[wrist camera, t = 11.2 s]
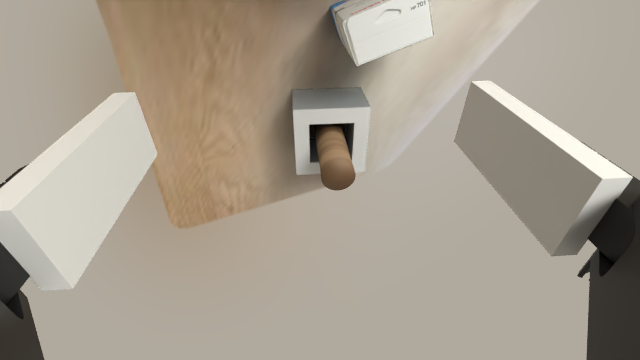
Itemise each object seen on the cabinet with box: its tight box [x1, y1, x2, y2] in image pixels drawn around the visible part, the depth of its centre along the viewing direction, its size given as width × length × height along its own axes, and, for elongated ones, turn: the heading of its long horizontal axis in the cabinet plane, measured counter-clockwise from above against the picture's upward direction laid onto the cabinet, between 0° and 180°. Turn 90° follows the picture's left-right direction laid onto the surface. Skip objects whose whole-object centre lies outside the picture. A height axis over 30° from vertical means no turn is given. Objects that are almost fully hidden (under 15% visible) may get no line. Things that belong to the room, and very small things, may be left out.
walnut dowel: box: [314, 123, 355, 190], centre depth 43 cm, size 4×4×15 cm
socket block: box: [292, 87, 371, 175], centre depth 46 cm, size 10×10×7 cm
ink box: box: [330, 0, 434, 66], centre depth 36 cm, size 9×5×12 cm, turn 110°
